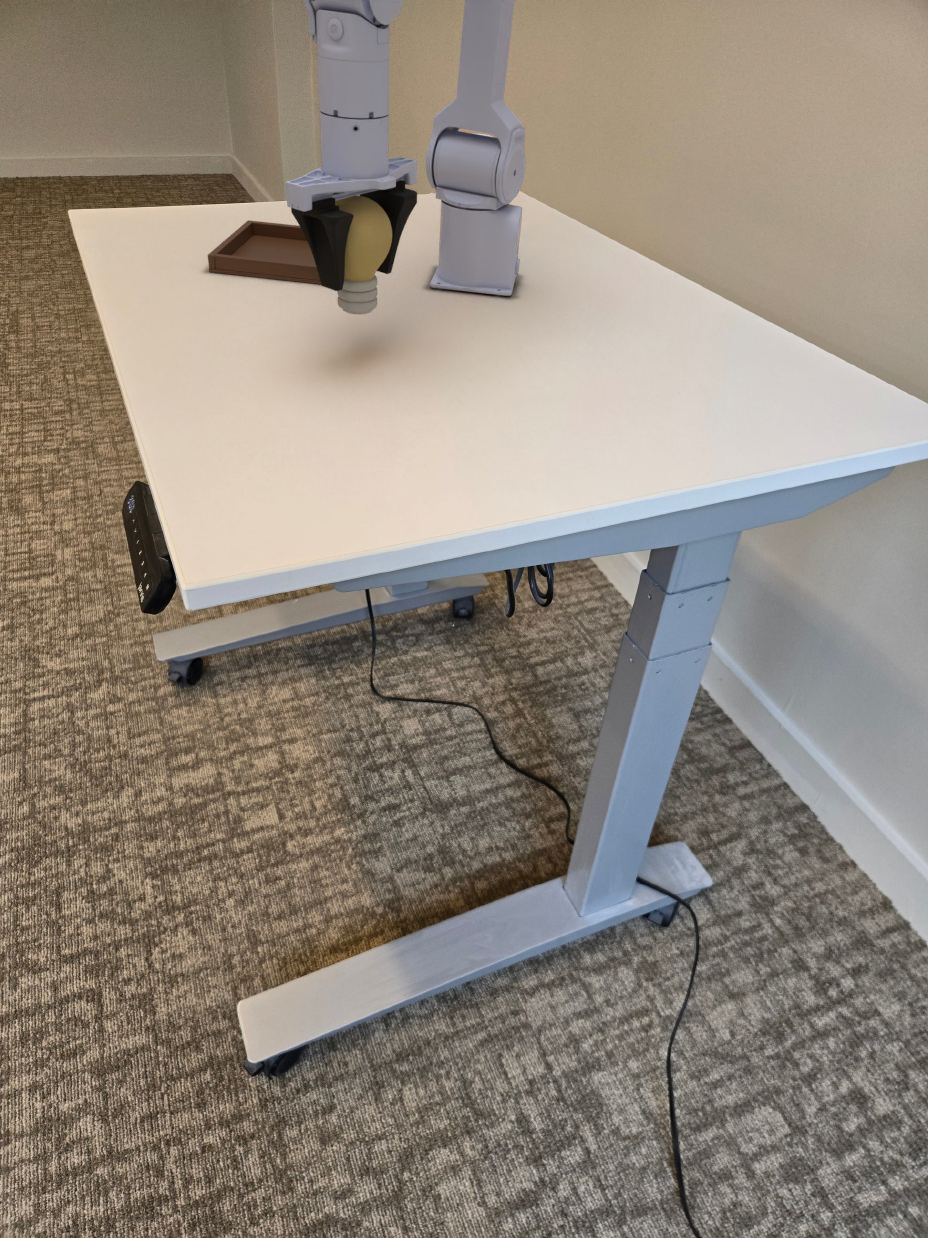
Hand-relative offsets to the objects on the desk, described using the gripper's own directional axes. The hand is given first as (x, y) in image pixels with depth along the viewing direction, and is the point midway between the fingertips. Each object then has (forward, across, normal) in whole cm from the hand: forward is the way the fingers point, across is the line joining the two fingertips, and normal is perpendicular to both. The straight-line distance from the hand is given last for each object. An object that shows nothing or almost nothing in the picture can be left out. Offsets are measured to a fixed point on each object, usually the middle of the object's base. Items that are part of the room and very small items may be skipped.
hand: (356, 279), depth 81 cm
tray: (+7, +15, +24) cm, 29 cm away
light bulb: (+3, 0, 0) cm, 3 cm away
